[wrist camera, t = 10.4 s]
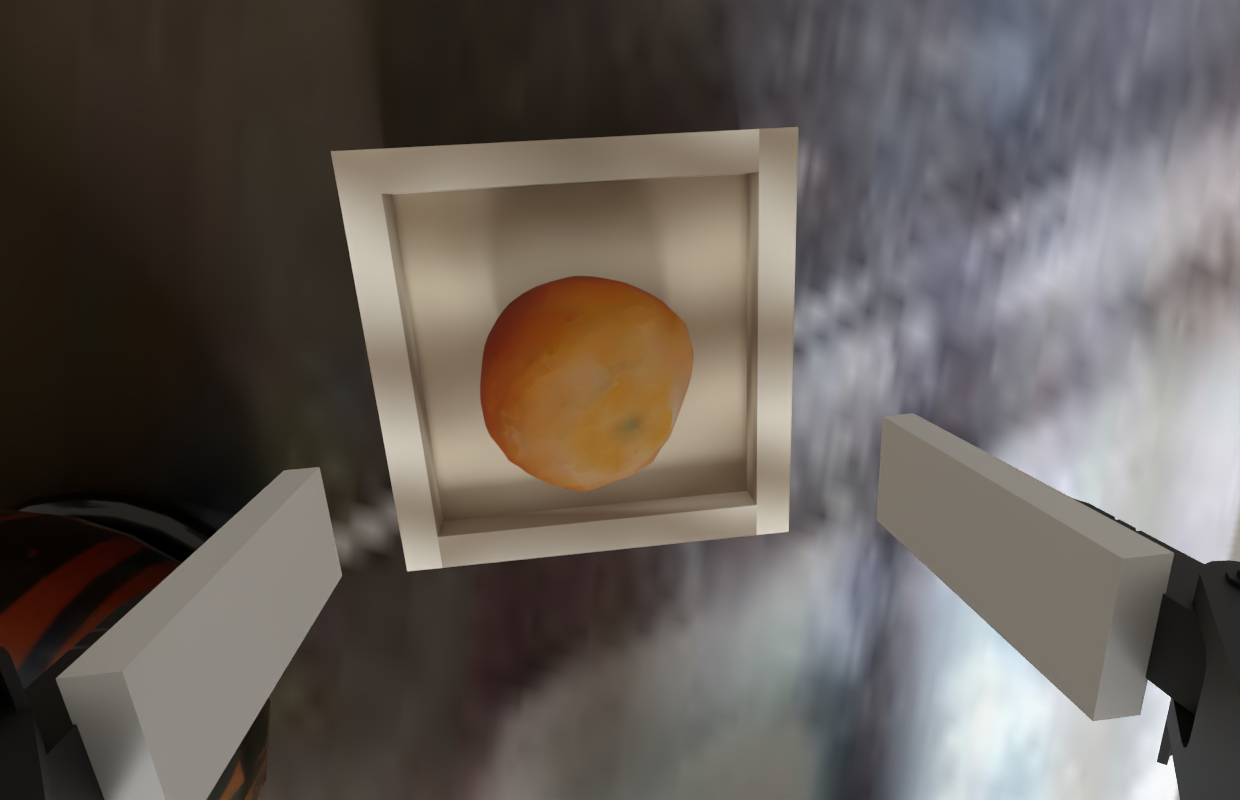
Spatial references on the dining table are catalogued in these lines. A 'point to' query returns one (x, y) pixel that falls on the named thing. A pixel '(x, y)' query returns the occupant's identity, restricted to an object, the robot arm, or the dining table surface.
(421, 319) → the square tray
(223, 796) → the amphora vase
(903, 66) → the dining table surface
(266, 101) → the dining table surface
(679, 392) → the fruit
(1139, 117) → the dining table surface
